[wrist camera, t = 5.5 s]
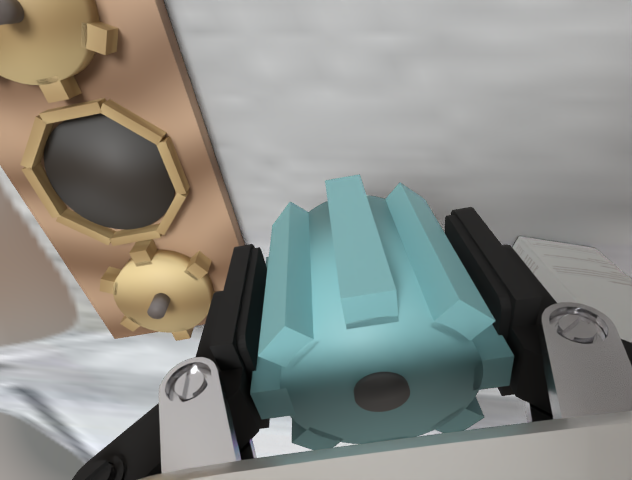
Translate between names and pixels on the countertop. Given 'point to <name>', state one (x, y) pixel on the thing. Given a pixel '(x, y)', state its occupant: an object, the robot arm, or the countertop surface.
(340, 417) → the loose gear
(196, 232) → the gear board
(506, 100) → the countertop surface
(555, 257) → the supplement box
